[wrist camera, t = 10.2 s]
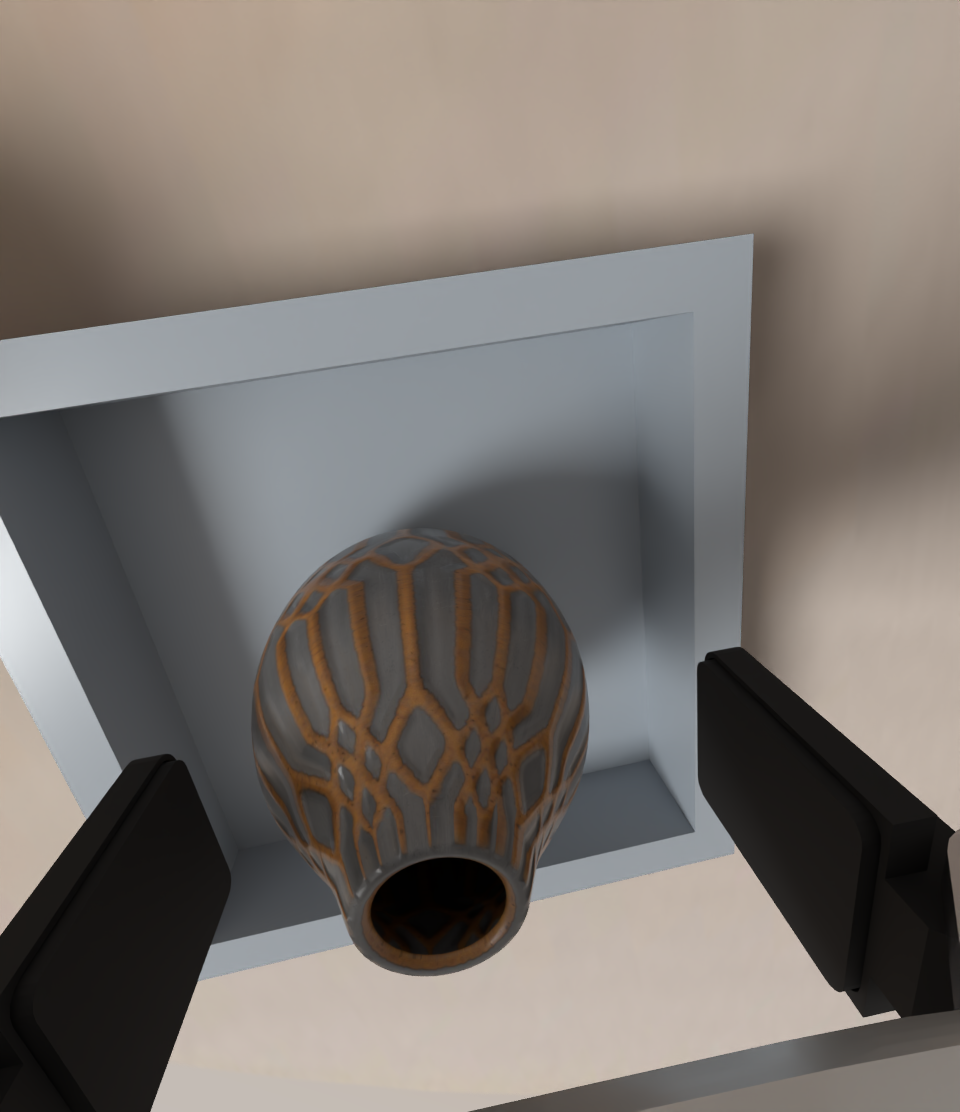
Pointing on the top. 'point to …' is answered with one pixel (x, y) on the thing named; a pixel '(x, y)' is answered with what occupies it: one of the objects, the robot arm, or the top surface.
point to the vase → (422, 741)
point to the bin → (382, 529)
